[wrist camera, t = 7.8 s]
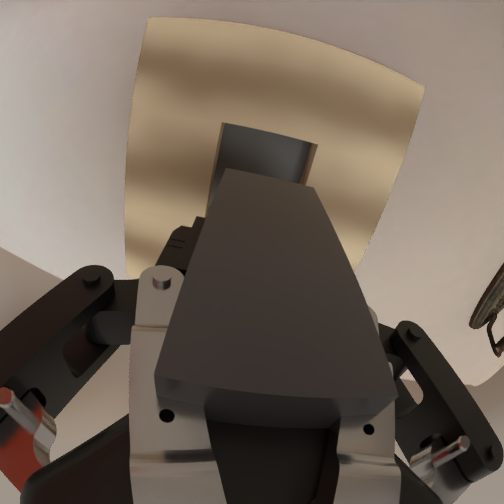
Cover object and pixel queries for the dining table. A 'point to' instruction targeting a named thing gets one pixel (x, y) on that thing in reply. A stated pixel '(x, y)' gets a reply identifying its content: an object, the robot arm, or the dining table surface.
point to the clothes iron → (490, 309)
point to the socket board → (258, 127)
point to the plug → (272, 315)
